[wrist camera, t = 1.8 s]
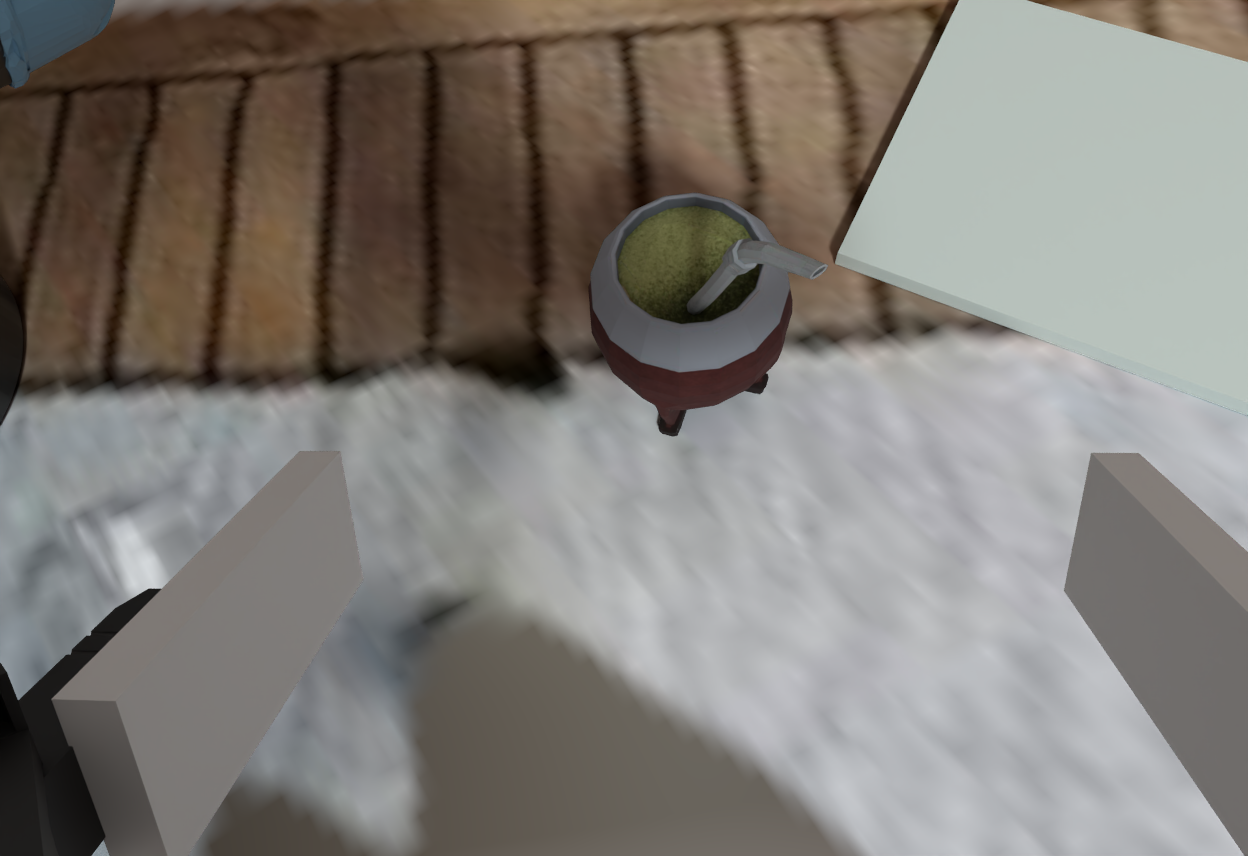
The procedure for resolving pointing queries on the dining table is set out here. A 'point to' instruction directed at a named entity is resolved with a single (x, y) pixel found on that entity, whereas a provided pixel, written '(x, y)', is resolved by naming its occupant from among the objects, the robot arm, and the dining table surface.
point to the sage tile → (1074, 193)
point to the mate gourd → (692, 302)
